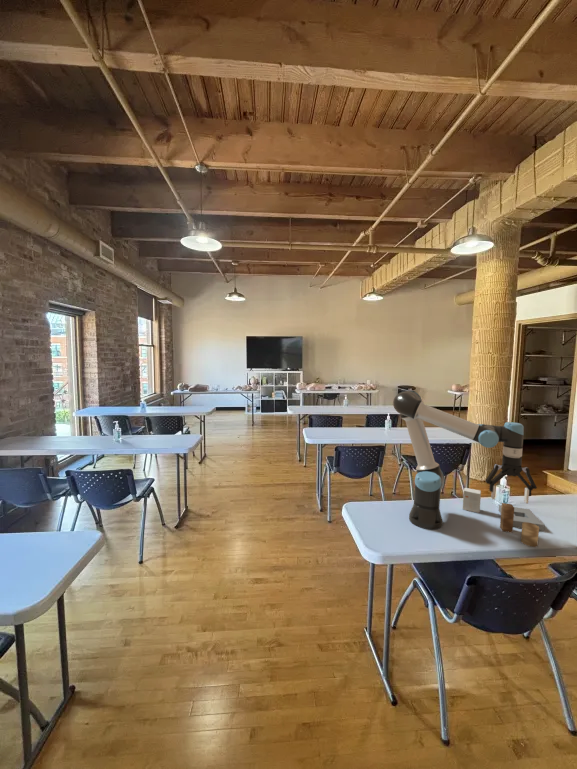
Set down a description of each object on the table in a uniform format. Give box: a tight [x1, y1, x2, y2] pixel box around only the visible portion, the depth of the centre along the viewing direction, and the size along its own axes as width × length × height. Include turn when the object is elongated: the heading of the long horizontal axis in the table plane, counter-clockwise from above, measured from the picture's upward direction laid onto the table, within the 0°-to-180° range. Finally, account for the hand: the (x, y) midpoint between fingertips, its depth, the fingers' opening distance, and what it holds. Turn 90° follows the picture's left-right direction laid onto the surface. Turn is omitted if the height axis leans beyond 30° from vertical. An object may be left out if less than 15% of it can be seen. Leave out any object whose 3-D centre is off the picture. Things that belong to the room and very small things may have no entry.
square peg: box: [499, 502, 515, 533], centre depth 159 cm, size 4×4×12 cm
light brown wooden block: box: [520, 522, 540, 548], centre depth 148 cm, size 6×6×8 cm
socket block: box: [498, 504, 545, 532], centre depth 170 cm, size 14×18×3 cm
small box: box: [462, 487, 482, 514], centre depth 180 cm, size 8×6×10 cm
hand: (509, 500), depth 158 cm, fingers open, 13 cm apart
